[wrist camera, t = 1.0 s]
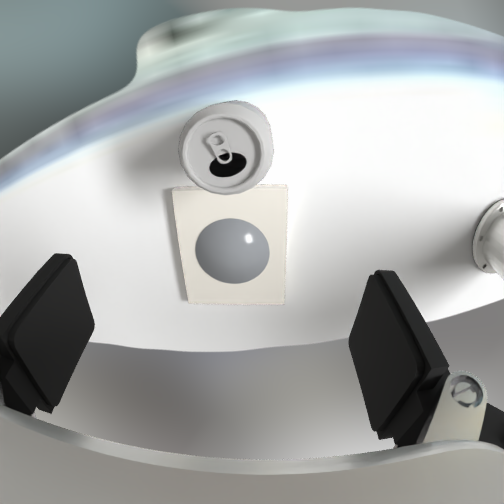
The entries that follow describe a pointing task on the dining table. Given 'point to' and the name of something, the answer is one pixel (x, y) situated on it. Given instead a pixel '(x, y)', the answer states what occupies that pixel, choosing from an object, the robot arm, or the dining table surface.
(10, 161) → the dining table surface
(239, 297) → the tile
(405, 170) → the dining table surface
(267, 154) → the can
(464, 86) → the dining table surface
